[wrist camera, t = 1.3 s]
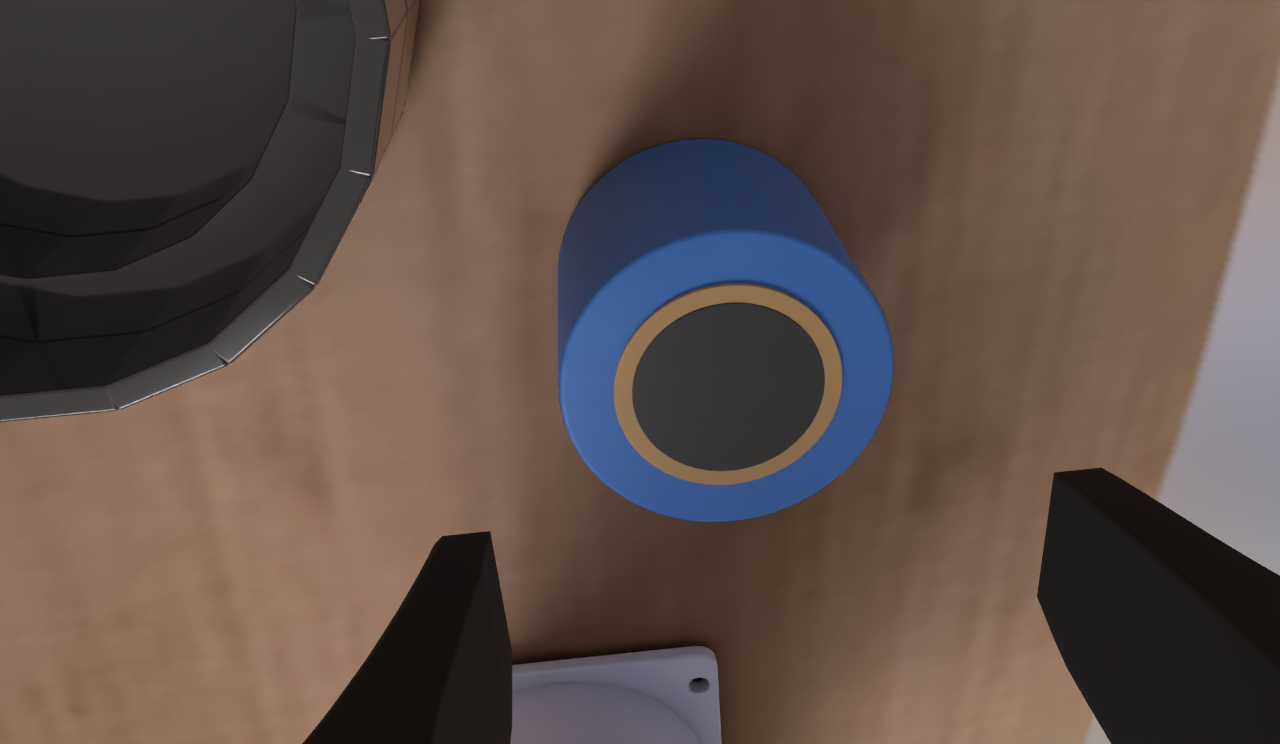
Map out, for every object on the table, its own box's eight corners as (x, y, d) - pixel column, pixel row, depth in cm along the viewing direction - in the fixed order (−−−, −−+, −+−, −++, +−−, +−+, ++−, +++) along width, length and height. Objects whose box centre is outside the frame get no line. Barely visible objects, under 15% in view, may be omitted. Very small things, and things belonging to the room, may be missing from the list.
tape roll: (828, 376, 23) (889, 510, 19) (572, 401, 23) (576, 542, 19) (832, 124, 21) (905, 214, 16) (542, 150, 20) (538, 249, 16)
